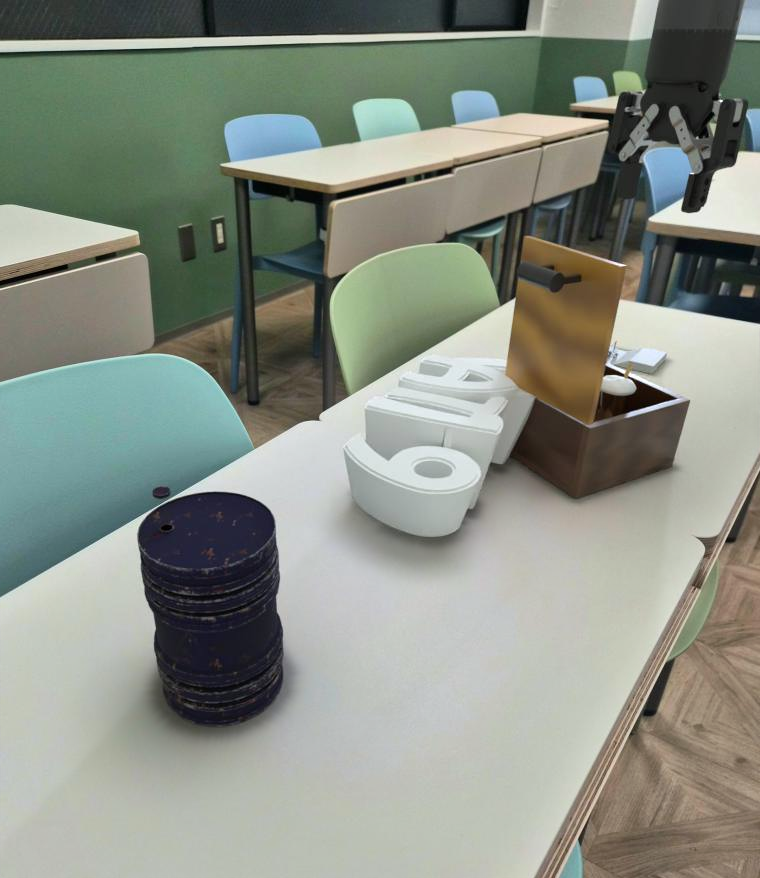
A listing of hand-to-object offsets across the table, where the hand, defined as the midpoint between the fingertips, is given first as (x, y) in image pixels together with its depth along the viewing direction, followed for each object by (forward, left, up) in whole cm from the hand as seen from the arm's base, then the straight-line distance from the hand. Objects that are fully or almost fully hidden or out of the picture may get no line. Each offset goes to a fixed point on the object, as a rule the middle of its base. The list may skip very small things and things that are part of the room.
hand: (656, 205), depth 78 cm
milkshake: (0, 0, -29) cm, 29 cm away
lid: (+11, 0, -12) cm, 16 cm away
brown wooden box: (+4, 0, -30) cm, 30 cm away
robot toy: (-27, -22, -30) cm, 46 cm away
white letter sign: (+22, -4, -29) cm, 37 cm away
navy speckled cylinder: (+56, +14, -30) cm, 65 cm away
